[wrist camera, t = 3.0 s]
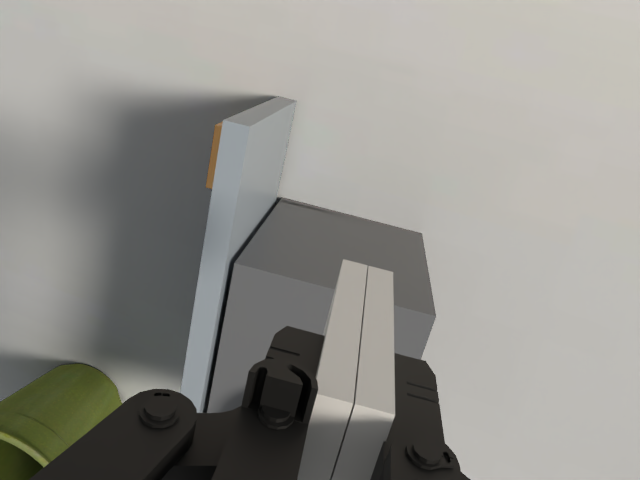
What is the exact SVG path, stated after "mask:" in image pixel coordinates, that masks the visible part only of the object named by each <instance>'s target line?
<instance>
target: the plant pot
mask: <svg viewBox="0 0 640 480" xmlns="http://www.w3.org/2000/svg"><path fill="white" fill-rule="evenodd" d="M120 405H122V403H121V400H120V397H119V394H118V390H117V388H116V386H115V385H114V383H113V382H112V381H111V380H110V379H109V378H108V377H107V376H106V375H104V374H103V373H102V372H100V371H99V370H97V369H95V368H93V367H90V366H88V365H84V364H70V365H60V366H58V367H56V368H54V369H53V370H51V371H49V372H48V373H46V374H44V375H43V376H41V377H40V378H38V379H36V380H35V381H33V382H31V383H30V384H28V385H27V386H25V387H24V388H22V389H20V390H19V391H17V392H15V393H14V394H12V395H11V396H9V397H7V398H6V399H4V400H2V401H1V402H0V480H29V479H30V478H32V477H33V476H34V475H35V474H36V473H38V472H39V471H40V470H41V469H43V468H44V467H45V466H46V465H48V464H49V463H50V462H51V461H53V460H54V459H55V458H56V457H57V456H59V455H60V454H61V453H62V452H64V451H65V450H66V449H67V448H69V447H70V446H71V445H72V444H74V443H75V442H76V441H77V440H78V439H80V438H81V437H82V436H83V435H85V434H86V433H87V432H88V431H90V430H91V429H92V428H93V427H95V426H96V425H97V424H98V423H99V422H101V421H102V420H103V419H104V418H106V417H107V416H108V415H109V414H111V413H112V412H113V411H114V410H116V409H117V408H118V407H119V406H120Z"/></svg>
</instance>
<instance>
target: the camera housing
mask: <svg viewBox="0 0 640 480" xmlns="http://www.w3.org/2000/svg"><path fill="white" fill-rule="evenodd" d="M343 259H345V260H349V261H353V262H357V263H360V264H364V265H368V266H372V267H376V268H380V269H383V270H387V271H391V272H393V295H394V353H397V354H400V355H404V356H408V357H412V358H415V359H419V360H421V357H422V354H423V352H424V349H425V346H426V343H427V340H428V337H429V335H430V332H431V329H432V326H433V323H434V320H435V318H436V314H435V308H434V302H433V296H432V290H431V284H430V278H429V272H428V267H427V261H426V255H425V249H424V243H423V237H422V233H418V232H414V231H410V230H406V229H402V228H398V227H395V226H391V225H387V224H383V223H379V222H375V221H371V220H367V219H364V218H360V217H356V216H352V215H348V214H344V213H340V212H336V211H333V210H329V209H325V208H321V207H317V206H313V205H309V204H305V203H302V202H298V201H294V200H290V199H286V198H281V200H280V201H279V202H278V204H277V205H276V207H275V208H274V209H273V211H272V212H271V213H270V215H269V216H268V218H267V219H266V220H265V222H264V223H263V224H262V226H261V227H260V229H259V230H258V231H257V233H256V234H255V235H254V237H253V238H252V240H251V241H250V242H249V244H248V245H247V246H246V248H245V249H244V251H243V252H242V253H241V255H240V256H239V257H238V259H237V260H236V261H235V263H234V268H233V273H232V279H231V284H230V290H229V295H228V301H227V306H226V311H225V317H224V322H223V328H222V333H221V339H220V344H219V350H218V355H217V361H216V366H215V371H214V377H213V382H212V388H211V393H210V399H209V404H208V410H207V413H222V412H226V411H230V410H233V409H235V408H238V407H240V406H241V405H242V400H243V396H244V391H245V386H246V382H247V377H248V372H249V370H250V369H251V368H252V366H253V365H254V364H255V363H258V362H260V361H262V360H264V359H265V358H266V355H267V352H268V350H269V348H270V345H271V342H272V340H273V337H274V335H275V334H276V333H277V332H278V331H280V330H281V329H283V328H284V327H286V326H290V327H294V328H298V329H301V330H305V331H309V332H313V333H316V334H320V335H323V333H324V329H325V325H326V321H327V318H328V314H329V310H330V306H331V303H332V299H333V295H334V291H335V288H336V284H337V280H338V276H339V273H340V269H341V265H342V261H343ZM368 266H367V270H368Z"/></svg>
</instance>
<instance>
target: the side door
mask: <svg viewBox="0 0 640 480" xmlns="http://www.w3.org/2000/svg"><path fill="white" fill-rule="evenodd" d="M295 106H296V101H295V100H291V99H287V98H283V97H279V96H278V97H276V98H273V99H271V100H269V101H266V102H264V103H262V104H259V105H257V106H255V107H252V108H250V109H248V110H245V111H243V112H240V113H238V114H236V115H233V116H231V117H229V118H226V119H224V120H223V122H221V123H218V124H216V125H215V129H214V136H213V142H212V149H211V156H210V162H209V169H208V175H207V182H206V188H210V189H212V193H211V200H210V206H209V213H208V219H207V225H206V232H205V238H204V244H203V251H202V257H201V263H200V270H199V276H198V283H197V289H196V295H195V302H194V308H193V314H192V321H191V327H190V333H189V340H188V346H187V353H186V359H185V365H184V372H183V378H182V384H181V391H180V393H181V394H183V395H184V396H186V397H187V398H189V399H190V400H191V401H192V402H193V404H194V406H195V407H196V409H197V413H207V410H208V404H209V399H210V393H211V388H212V382H213V377H214V371H215V366H216V361H217V355H218V350H219V344H220V339H221V333H222V328H223V322H224V317H225V311H226V306H227V301H228V295H229V290H230V284H231V279H232V273H233V268H234V263H235V261H236V260H237V259H238V257H239V256H240V255H241V253H242V252H243V251H244V249H245V248H246V246H247V245H248V244H249V242H250V241H251V240H252V238H253V237H254V235H255V234H256V233H257V231H258V230H259V229H260V227H261V226H262V224H263V223H264V222H265V220H266V219H267V218H268V216H269V215H270V213H271V212H272V211H273V209H274V208H275V203H276V199H277V194H278V189H279V184H280V179H281V174H282V169H283V164H284V160H285V155H286V150H287V145H288V140H289V135H290V130H291V126H292V121H293V116H294V111H295Z"/></svg>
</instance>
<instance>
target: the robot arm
mask: <svg viewBox="0 0 640 480" xmlns="http://www.w3.org/2000/svg"><path fill="white" fill-rule="evenodd" d="M367 266H368V265H364V264H360V263H357V262H353V261H349V260H345V259H343V261H342V265H341V269H340V273H339V276H338V280H337V284H336V288H335V291H334V295H333V299H332V303H331V306H330V310H329V314H328V318H327V321H326V325H325V329H324V333H323V335H320V334H316V333H313V332H309V331H305V330H301V329H298V328H294V327H290V326H286V327H284V328H283V329H281V330H280V331H278V332H277V333H276V334H275V335H274V337H273V340H272V342H271V345H270V348H269V350H268V352H267V355H266V358H265V359H264V360H262V361H260V362H258V363H255V364H254V365H253V366H252V368H251V369H250V370H249V372H248V377H247V382H246V386H245V391H244V396H243V400H242V405H241V406H240V407H238V408H235V409H233V410H230V411H226V412H222V413H197V409H196V407H195V406H194V404H193V402H192V401H191V400H190V399H189V398H187V397H186V396H184V395H183V394H181V393H178V392H175V391H172V390H169V389H152V390H148V391H143V392H140V393H138V394H136V395H134V396H133V397H131V398H129V399H128V400H127V401H125V402H124V403H123V404H122V405H120V406H119V407H118V408H117V409H116V410H114V411H113V412H112V413H111V414H109V415H108V416H107V417H106V418H104V419H103V420H102V421H101V422H99V423H98V424H97V425H96V426H95V427H93V428H92V429H91V430H90V431H88V432H87V433H86V434H85V435H83V436H82V437H81V438H80V439H78V440H77V441H76V442H75V443H74V444H72V445H71V446H70V447H69V448H67V449H66V450H65V451H64V452H62V453H61V454H60V455H59V456H57V457H56V458H55V459H54V460H53V461H51V462H50V463H49V464H48V465H46V466H45V467H44V468H43V469H41V470H40V471H39V472H38V473H36V474H35V475H34V476H33V477H32V478H30V479H29V480H470V479H469V478H467V477H466V476H465V475H464V474H463V473H462V472H461V471H460V465H459V463H458V460H457V458H456V455H455V454H454V453H453V452H452V450H451V449H450V448H449V447H448V446H447V445H446V444H445V442H444V435H443V427H442V420H441V413H440V406H439V404H438V402H439V398H438V392H437V384H436V377H435V374H434V373H433V371H432V370H431V368H430V367H429V366H428V364H427V363H426V361H423V360H419V359H415V358H412V357H408V356H404V355H400V354H397V353H394V295H393V272H391V271H387V270H383V269H380V268H376V267H372V266H368V270H367Z"/></svg>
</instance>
